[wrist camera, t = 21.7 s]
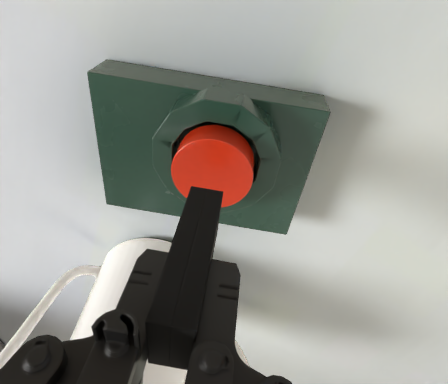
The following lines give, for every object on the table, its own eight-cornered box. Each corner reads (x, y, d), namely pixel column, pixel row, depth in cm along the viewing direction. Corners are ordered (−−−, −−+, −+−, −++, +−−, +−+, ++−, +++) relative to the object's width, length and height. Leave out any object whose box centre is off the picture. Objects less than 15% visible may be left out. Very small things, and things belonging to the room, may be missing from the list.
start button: (176, 184, 20) (169, 201, 18) (179, 118, 17) (171, 132, 16) (247, 196, 20) (245, 214, 18) (261, 131, 17) (260, 147, 16)
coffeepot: (40, 180, 26) (-248, 466, 12) (285, 285, 32) (301, 578, 17) (29, 250, 33) (-167, 494, 18) (234, 329, 38) (213, 569, 23)
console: (119, 183, 26) (95, 220, 22) (105, 54, 19) (69, 77, 16) (284, 211, 26) (287, 252, 22) (325, 91, 19) (338, 121, 16)
